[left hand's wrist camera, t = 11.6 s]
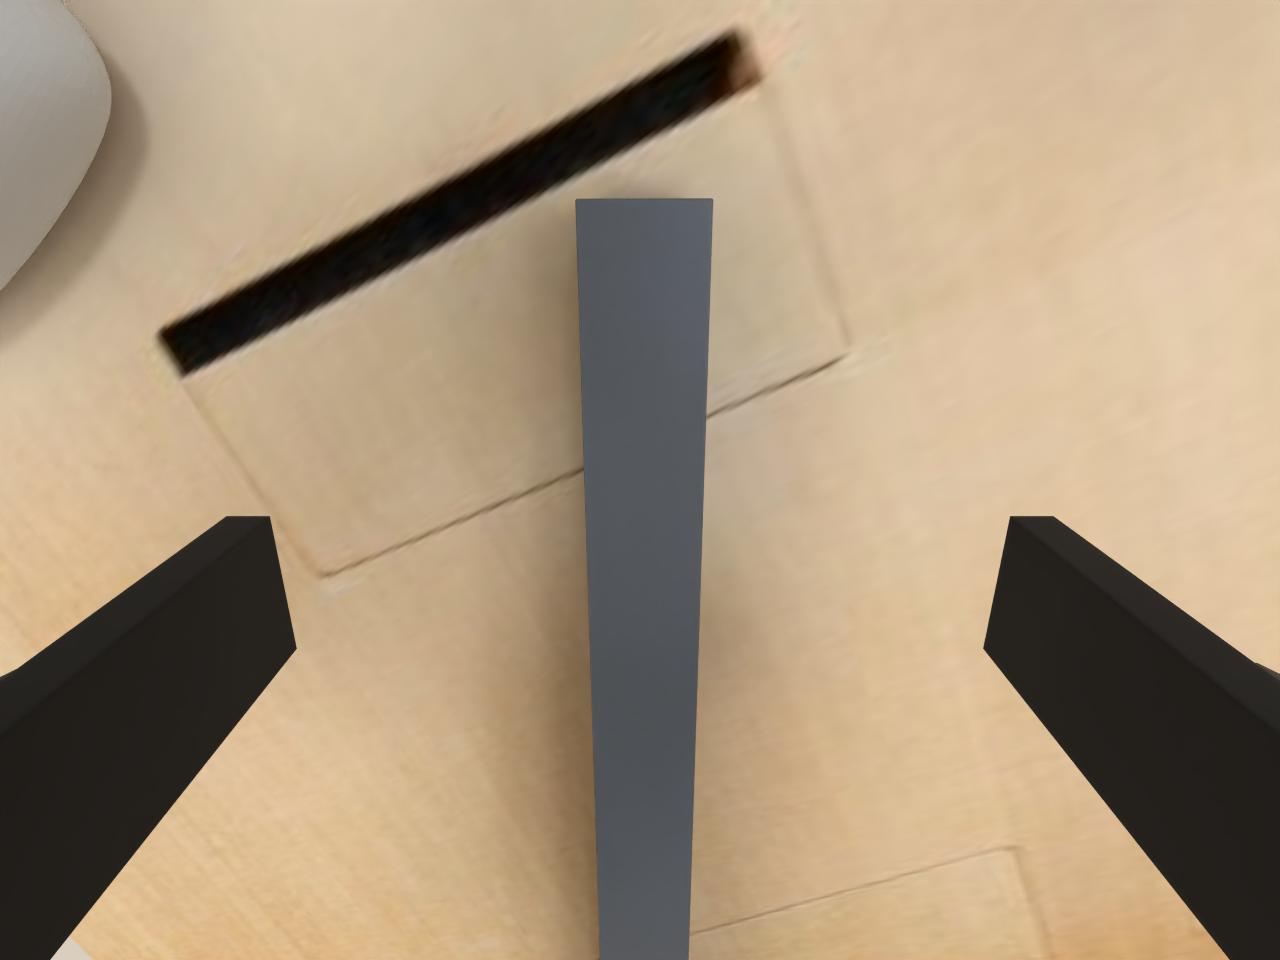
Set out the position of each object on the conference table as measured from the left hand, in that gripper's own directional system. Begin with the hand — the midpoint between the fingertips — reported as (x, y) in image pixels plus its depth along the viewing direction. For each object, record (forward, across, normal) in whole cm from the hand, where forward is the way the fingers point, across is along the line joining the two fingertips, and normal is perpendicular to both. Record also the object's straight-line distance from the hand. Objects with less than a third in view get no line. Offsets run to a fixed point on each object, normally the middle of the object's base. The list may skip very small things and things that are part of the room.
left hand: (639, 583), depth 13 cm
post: (+25, 0, -26) cm, 36 cm away
